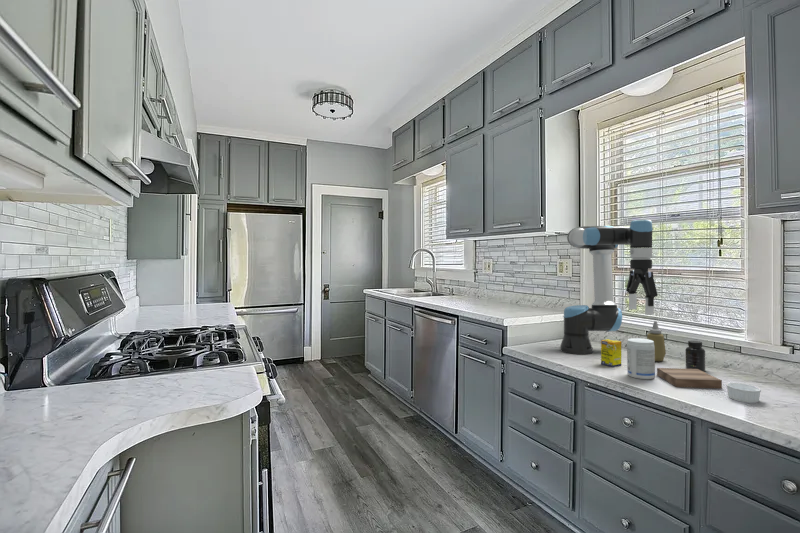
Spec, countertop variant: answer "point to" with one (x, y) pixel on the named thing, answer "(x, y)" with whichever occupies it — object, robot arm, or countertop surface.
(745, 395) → the ramekin
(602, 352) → the supplement box
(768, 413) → the countertop surface
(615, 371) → the countertop surface
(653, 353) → the supplement tub
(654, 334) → the squeeze bottle
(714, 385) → the walnut plinth
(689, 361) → the supplement bottle
